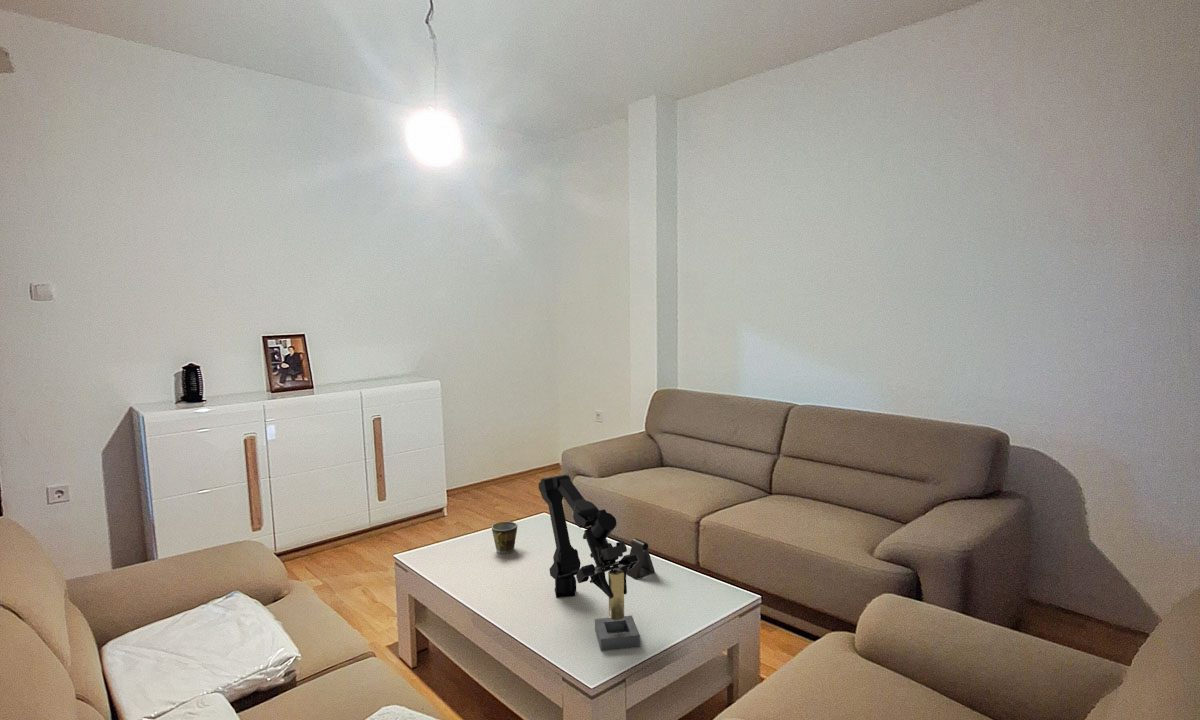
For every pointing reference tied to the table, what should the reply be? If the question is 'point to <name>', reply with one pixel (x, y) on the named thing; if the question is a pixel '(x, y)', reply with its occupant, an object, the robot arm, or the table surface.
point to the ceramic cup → (504, 536)
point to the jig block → (617, 640)
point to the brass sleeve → (616, 594)
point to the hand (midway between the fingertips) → (618, 596)
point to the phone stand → (640, 560)
